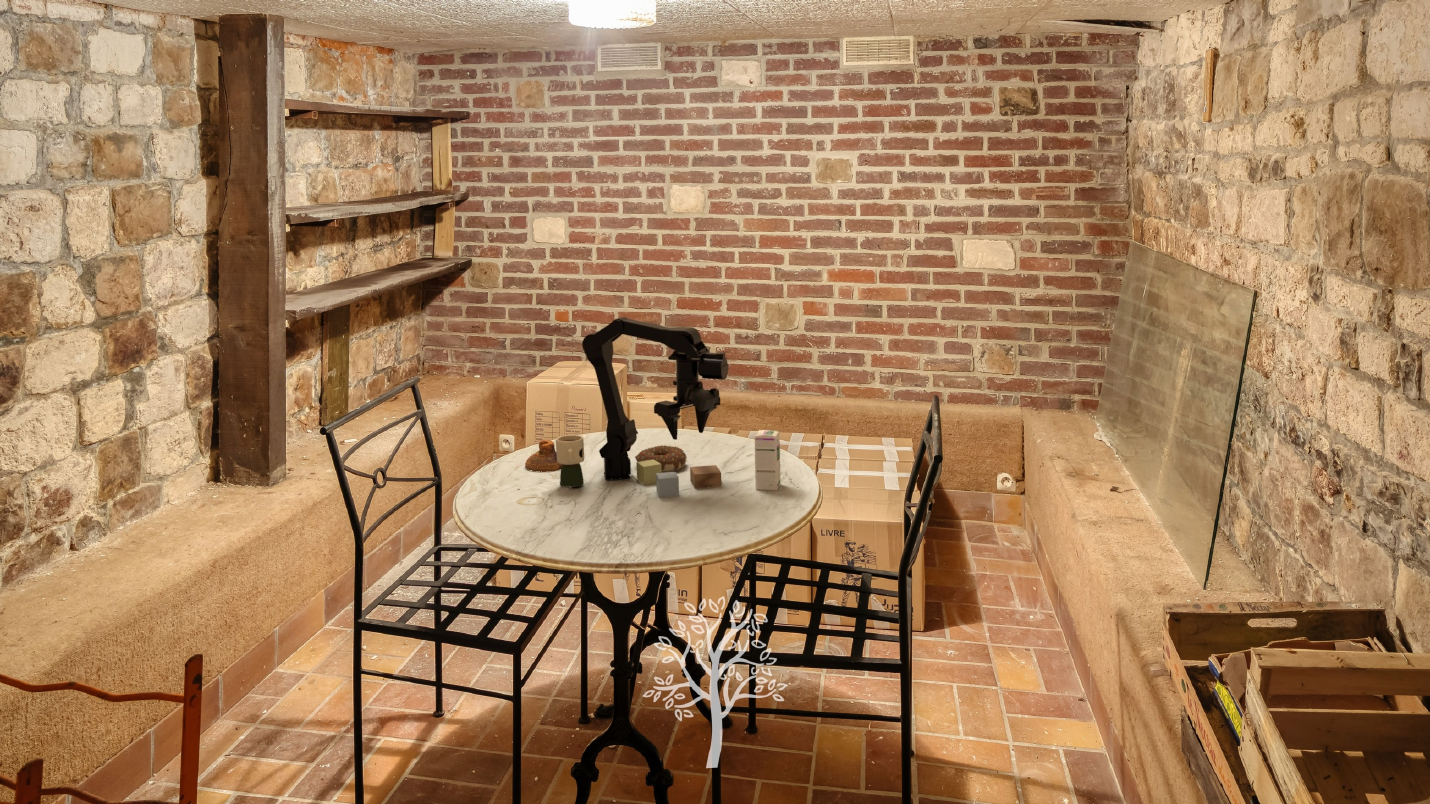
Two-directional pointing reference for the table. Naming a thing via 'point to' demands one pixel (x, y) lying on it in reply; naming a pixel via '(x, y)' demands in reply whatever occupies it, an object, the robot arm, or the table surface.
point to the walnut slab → (705, 476)
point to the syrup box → (767, 459)
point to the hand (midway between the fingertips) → (688, 436)
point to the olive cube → (648, 471)
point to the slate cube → (667, 484)
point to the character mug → (570, 459)
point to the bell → (544, 458)
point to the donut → (664, 457)
